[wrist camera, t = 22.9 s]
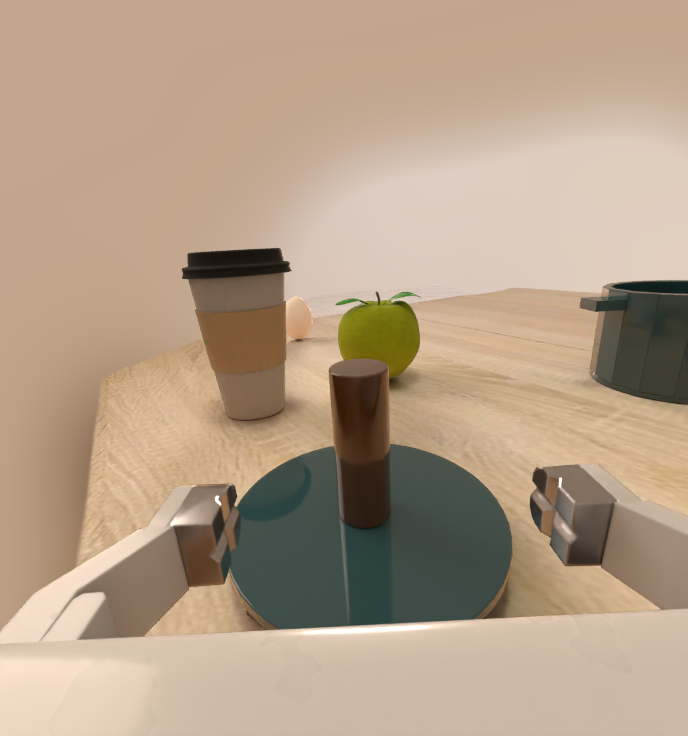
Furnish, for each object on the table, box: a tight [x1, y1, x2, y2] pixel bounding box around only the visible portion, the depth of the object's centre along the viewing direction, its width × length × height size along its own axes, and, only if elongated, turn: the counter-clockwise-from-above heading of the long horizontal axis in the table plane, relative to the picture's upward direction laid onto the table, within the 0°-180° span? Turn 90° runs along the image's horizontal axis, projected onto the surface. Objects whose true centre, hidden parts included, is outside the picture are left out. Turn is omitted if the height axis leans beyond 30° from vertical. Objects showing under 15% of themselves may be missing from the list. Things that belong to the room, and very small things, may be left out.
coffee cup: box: [182, 248, 291, 420], centre depth 34 cm, size 9×9×15 cm
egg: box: [286, 297, 313, 339], centre depth 64 cm, size 5×5×7 cm
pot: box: [580, 280, 688, 404], centre depth 36 cm, size 12×18×10 cm
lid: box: [228, 359, 512, 630], centre depth 17 cm, size 13×13×9 cm
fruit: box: [336, 292, 420, 379], centre depth 42 cm, size 9×9×10 cm
